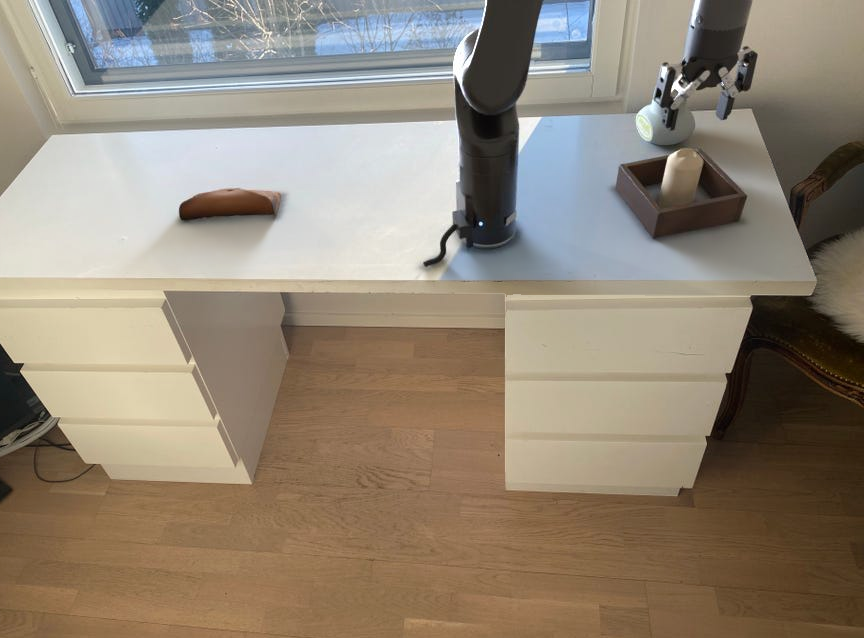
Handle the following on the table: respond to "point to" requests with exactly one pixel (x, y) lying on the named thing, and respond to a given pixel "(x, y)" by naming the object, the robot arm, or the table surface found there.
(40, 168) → the table surface
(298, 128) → the table surface
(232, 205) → the sunglasses case
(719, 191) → the walnut box
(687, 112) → the air freshener
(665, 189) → the candle
